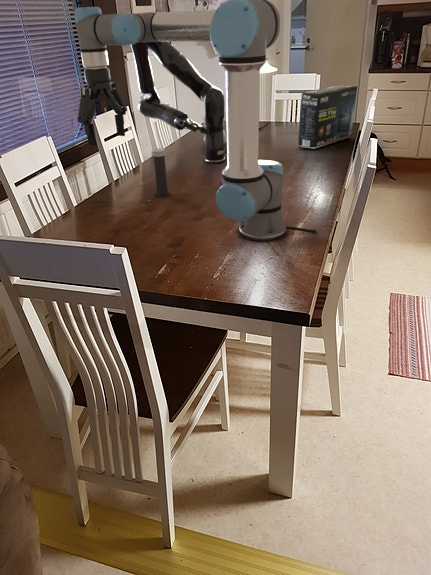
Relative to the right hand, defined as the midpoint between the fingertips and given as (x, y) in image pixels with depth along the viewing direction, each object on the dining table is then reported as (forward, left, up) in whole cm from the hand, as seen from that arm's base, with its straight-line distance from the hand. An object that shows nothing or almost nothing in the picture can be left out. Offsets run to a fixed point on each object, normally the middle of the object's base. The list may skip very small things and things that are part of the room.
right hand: (107, 140), depth 148 cm
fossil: (+23, -111, -28) cm, 117 cm away
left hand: (0, -58, -9) cm, 58 cm away
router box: (-31, -132, -28) cm, 138 cm away
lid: (+2, -29, -11) cm, 31 cm away
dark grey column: (+2, -29, -28) cm, 40 cm away
